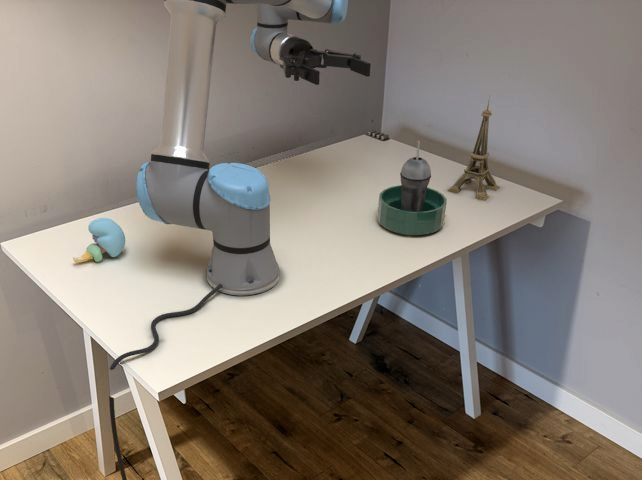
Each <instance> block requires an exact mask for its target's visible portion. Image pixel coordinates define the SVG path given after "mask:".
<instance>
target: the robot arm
mask: <svg viewBox="0 0 642 480" xmlns="http://www.w3.org/2000/svg"><path fill="white" fill-rule="evenodd" d="M228 4H232V5H256V27H255V28H254V29H253V31H252V33H251V35H250V38H249V39H250V40H249V43H250V47H251V50H252V52H253V53H254V54H255V55H256V56H258V57H259V58H261V60H264V61H266V62H270V63H272V64H275V65H276V66H279V68H280V69H282V70H283V73H284V77H285V78H287V79H291V77H292V76H293V81H295V82H298V81H300V79H302V80H304V81H307V82H309V83H311V84H313V85H316V86H319V85H320V74H321V73H320V70H317V69H326V68H327V67H331V68H332V67H333V68H341V69H349V70H350V71H351V72H354V73H357V74H359V75H361V76H363V77H368V78H369V77H370V76H371V63H370V62H368V61H365V60H362V55H361V54H357V53H356V52H353V53H349V52H343V51H338V50H337V51H336V50H331V49H328V48H325V49H324V51H323V50H318V49H314V46H313V45H312V44H311V42H310V41H308V40H306V39H304V38H301V37H299V36H297V35H294V34H291V33H289V32H288V25H289V20H291V21H300V22H301V21H304V22H305V21H306V22H315V23H325V24H330V25H331V24H342V23H343V22H344V21H345V20H346V17H347V14H348V9H349V8H348V7H349V0H163V5H164V7H165V8H166V10H167V11H168V12H169V14H170V24H169V25H170V26H169V35H168V36H169V37H168V45H167V46H168V49H167V57H166V58H167V59H166V69H165V70H166V71H165V83H164V93H163V104H162V117H161V127H160V139H159V145H158V147H156V148H154V150H152V151H151V152H150V160H149V161H147V162H144V163H142V164H141V166H140V167H139V171H138V173H137V176H136V183H135V187H136V191H135V192H136V198H137V202H138V204H139V207H140V209H141V210H142V213H143V214H144V215H145V216H146V217H147V218H148V219H150V220H152V221H155V222H159V223H163V224H165V225H175V226H181V227H187V228H193V229H198V230H199V229H200V230H205V231H211V232H212V241H213V242H212V249H211V253H210V256H209V260H208V264H207V266H206V280H207V283H208V284H209V286H210V287H211V288H212V289H211V291H210V292H208V293H207V294H206V295H205V296H203V298H202V299H200V301H199V302H198V303H197V304H196V305H194V306H193V307H190V308H189V309H186V310H180V311H173V312H167V313H163V314H160V315H158V316H156V317H155V318H154V319H153V320H152V321H151V325H150V329H151V332H152V335H153V339H154V340H153V342H152V343H151V344H150V345H149V346H147V347H143V348H139V349H136V350H135V349H134V350H131V351H127V352H125V353H122V354H121V355H119V356H118V357H117V358H115V360H113V362H112V363H111V365H110V367H109V370H110V371H113V370H115V368H116V367H118V364H119V363H121V361H123V360H124V359H126V358H130V357H133V356H137V355H142V354H147V353H148V352H151V351H153V350H154V349H155V348H156V347H157V346H158V344H159V343H160V342H159V341H160V337H159V333H158V330H157V328H156V324H157V323H158V322H160V321H161V320H163V319H166V318H173V317H179V316H185V315H189V314H192V313H194V312H196V311H197V310H199V309H200V308H201V307H203V305H204V304H205V303H206V302H207V301H209V299H210V298H211V297H212V296H214V294H216V293H217V292H220V293H223V294H226V295H230V296H251V295H252V296H253V295H257V294H258V295H259V294H261V293H265V292H266V291H269V290H270V289H272V288H273V287H275V286H276V285H277V284H278V282H279V280H280V266H279V263H278V261H277V259H276V256H275V253H274V250H273V247H272V243H271V195H270V188H269V187H270V186H269V185H270V184H269V180H268V178H267V177H266V176H265V174H264V173H263V172H262V171H260V170H259V169H258V168H256V167H254V166H251V165H248V164H245V163H240V162H230V163H228V162H221V163H217V164H214V165H213V166H211V167H210V165H211V164H210V163H211V161H210V160H209V157H207V155H206V153H205V151H204V148H205V139H206V127H207V118H208V109H209V100H210V88H211V81H212V70H213V61H214V50H215V42H216V41H215V40H216V30H217V25H218V23H219V22H220V21H222V20H223V19H224V18H225V17H226V11H227V5H228ZM322 60H323V64H322ZM316 68H317V69H316ZM108 400H109V417H110V426H111V433H112V438H113V446H114V450H115V455H116V459H117V463H118V467H119V472H120V476H121V480H127V475H126V469H125V466H124V461H123V457H122V452H121V447H120V443H119V437H118V436H119V435H118V429H117V423H116V410H115V398H114V397H113V396H110V395H109V396H108Z"/></svg>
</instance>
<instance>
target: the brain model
mask: <svg viewBox="0 0 642 480" xmlns="http://www.w3.org/2000/svg"><path fill="white" fill-rule="evenodd" d="M88 232H89V234H91V238H92V240H93V241H94V242H92V243H90V244H89V245H88V246H87V247H86V250H85V252H84V254H82V255H81V256H79V257H76V256H73V257H72V260H73V262H74V263H77V264H80V263H83V262H87V261H89V260H94V261H95V262H96V263H99V262H101V261H103V258H104V257H103V253H105V252H106V253H107V254H108V255H109V256H110V257H112V258H116V257H118V256H119V255H120V254H121V252H123V250H124V248H125V247H126V235H125V232H124V230H123V228H122V227H121V226H120V225H119V224H118V223H117V222H116V221H114V220H112V219H111V218H110V217H109V218H108V217H99V218H96V219H93V220H92V221H90V222H89V224H88Z"/></svg>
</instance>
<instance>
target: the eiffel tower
mask: <svg viewBox="0 0 642 480" xmlns="http://www.w3.org/2000/svg"><path fill="white" fill-rule="evenodd" d="M490 98H491V95H489V99H488V100H487V101H488V102H487V105H486V109H484V110H482V113H481V114H480V116H482V120H481V122H480V123H481V124H480V128H479V131H478V133H477V134H478V135H477V137H476V142H475V145H474V148H473V150H472V152H470V154H469V156H470V159H469V161H468V164H467V165H466V167H465V169H463V173H462V175H461V176H460V177H459V178H457V180H456V181H455V183H453V185H452V186H451V187H450V188H448V189H447V192H449V193H454V194H458V193H460V192H461V191H462V186H463V185H464V184H467V185H469V184H470V183H472V182H473V180H475V181H476V182H477V193H476V195H475V197H474V199H477V200H481V201H486V200H487V199H489V198H490V195H488V192H487V190H491V191H495V192H496V191H497V190H498V189H500V186H499V185H498V184H497V182H496V180H495V178H494V176H493V175H492V173H491V172H490V169H491V168H490V167H489V164H488V157H490V152H489V151H488V141H489V140H488V138H489V123H490V117H491V116H492V115H493V114H492V112H493V111H492V110H489V105H490V100H491V99H490ZM477 162H479V165H477ZM484 181H485V183H486V186H485V184H484Z"/></svg>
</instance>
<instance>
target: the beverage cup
mask: <svg viewBox="0 0 642 480" xmlns="http://www.w3.org/2000/svg"><path fill="white" fill-rule="evenodd" d="M420 147H421V140H417V146H416V155H415V156H414V157H410V158H409V159H407V160H406V161H405V162H404V163H403V164H402V167H401V169H400V172H399V176H400V185H401V210H404V211H413V212H422V209H423V204H424V200H425V195H426V191H427V187H428V186H429V185H430V181H431V178H432V172H431V165H430V163H429V162H428V161H427V160H426V159H424V158H423V157H420V149H421V148H420Z"/></svg>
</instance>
